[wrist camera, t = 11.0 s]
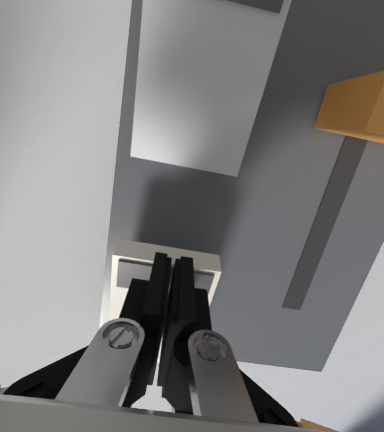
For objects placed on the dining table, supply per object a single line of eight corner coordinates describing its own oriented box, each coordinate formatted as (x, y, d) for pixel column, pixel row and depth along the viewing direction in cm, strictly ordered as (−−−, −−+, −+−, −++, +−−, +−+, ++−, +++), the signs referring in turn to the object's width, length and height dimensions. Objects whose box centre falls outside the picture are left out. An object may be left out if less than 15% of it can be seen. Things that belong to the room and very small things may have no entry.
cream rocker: (189, 348, 17) (188, 368, 16) (112, 337, 17) (106, 358, 16) (219, 255, 13) (221, 274, 12) (118, 238, 13) (111, 257, 12)
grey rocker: (233, 167, 14) (237, 178, 12) (135, 148, 13) (129, 157, 12) (296, -43, 9) (310, -57, 8) (156, -82, 9) (150, -102, 8)
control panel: (303, 339, 22) (328, 384, 18) (109, 313, 21) (92, 355, 17) (432, 36, 15) (515, 8, 11) (149, -38, 13) (135, -99, 10)
